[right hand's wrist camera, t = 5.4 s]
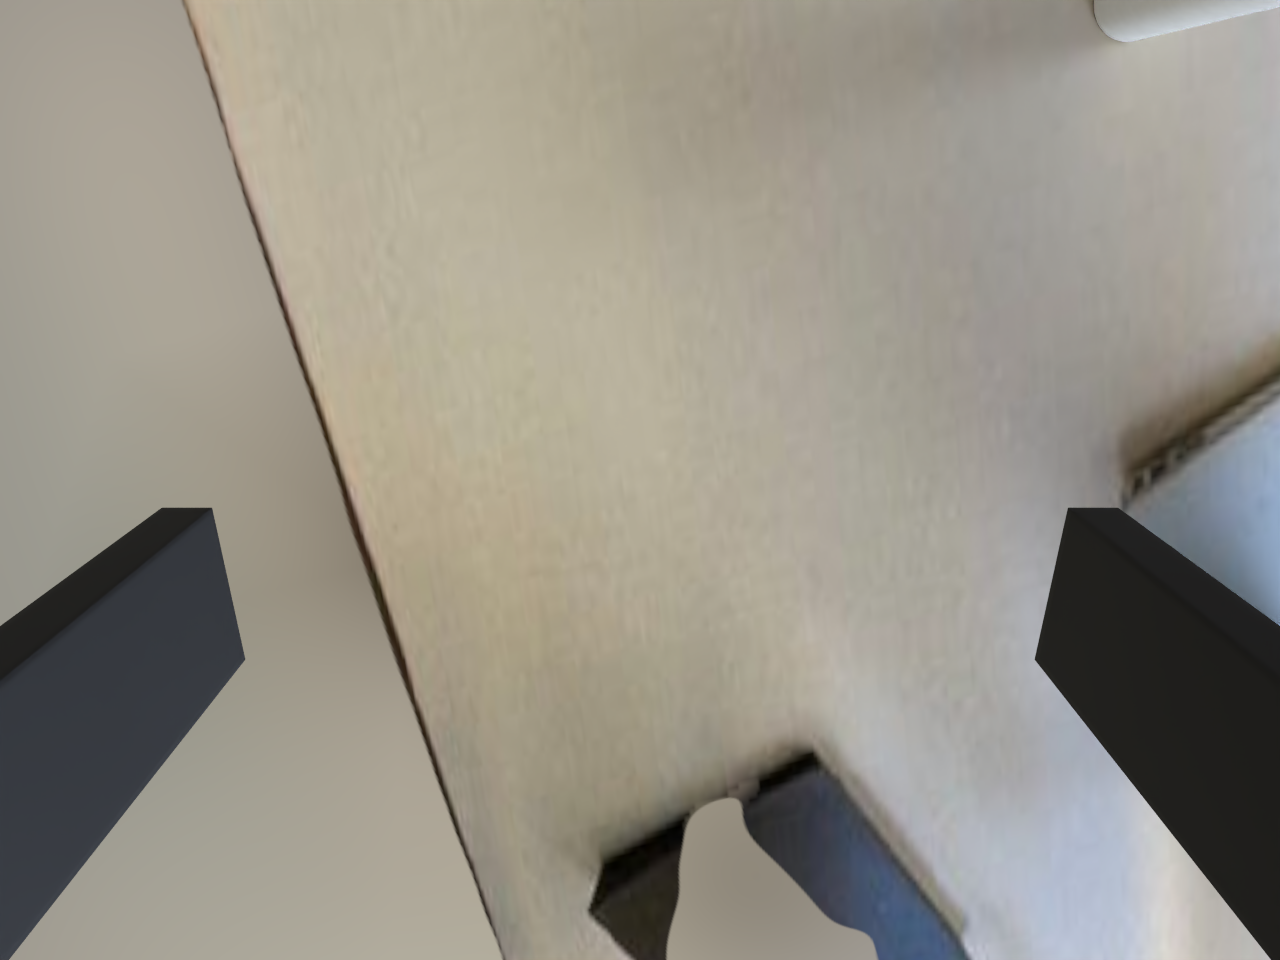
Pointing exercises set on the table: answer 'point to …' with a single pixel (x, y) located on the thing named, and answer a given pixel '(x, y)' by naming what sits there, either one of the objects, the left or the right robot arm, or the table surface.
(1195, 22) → the bottle
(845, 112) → the table surface
